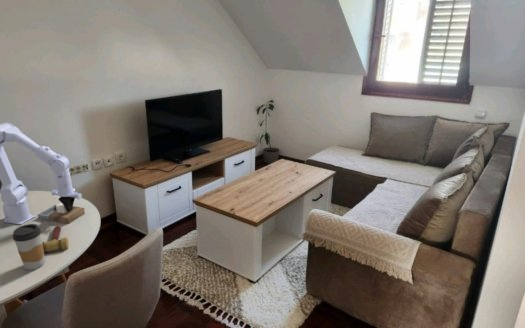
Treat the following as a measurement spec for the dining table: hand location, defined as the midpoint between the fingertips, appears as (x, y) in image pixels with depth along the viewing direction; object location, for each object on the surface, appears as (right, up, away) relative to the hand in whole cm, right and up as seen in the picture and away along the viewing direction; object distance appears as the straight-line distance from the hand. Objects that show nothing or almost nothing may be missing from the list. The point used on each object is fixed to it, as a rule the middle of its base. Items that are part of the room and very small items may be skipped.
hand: (69, 210), depth 158 cm
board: (-2, -3, +2) cm, 4 cm away
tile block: (-3, 0, +1) cm, 3 cm away
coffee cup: (+5, -16, -31) cm, 35 cm away
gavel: (+3, -10, -15) cm, 18 cm away
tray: (-10, -2, +4) cm, 11 cm away
